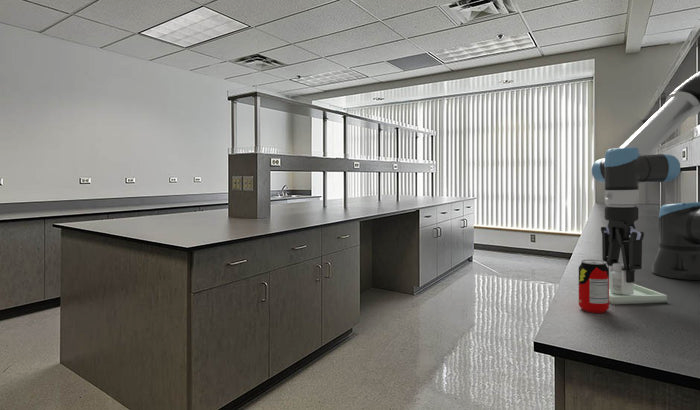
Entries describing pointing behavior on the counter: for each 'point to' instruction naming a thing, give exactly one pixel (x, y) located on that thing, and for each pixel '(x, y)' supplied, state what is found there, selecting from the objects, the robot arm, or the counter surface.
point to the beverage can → (594, 286)
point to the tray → (637, 296)
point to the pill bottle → (616, 278)
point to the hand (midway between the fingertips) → (620, 291)
